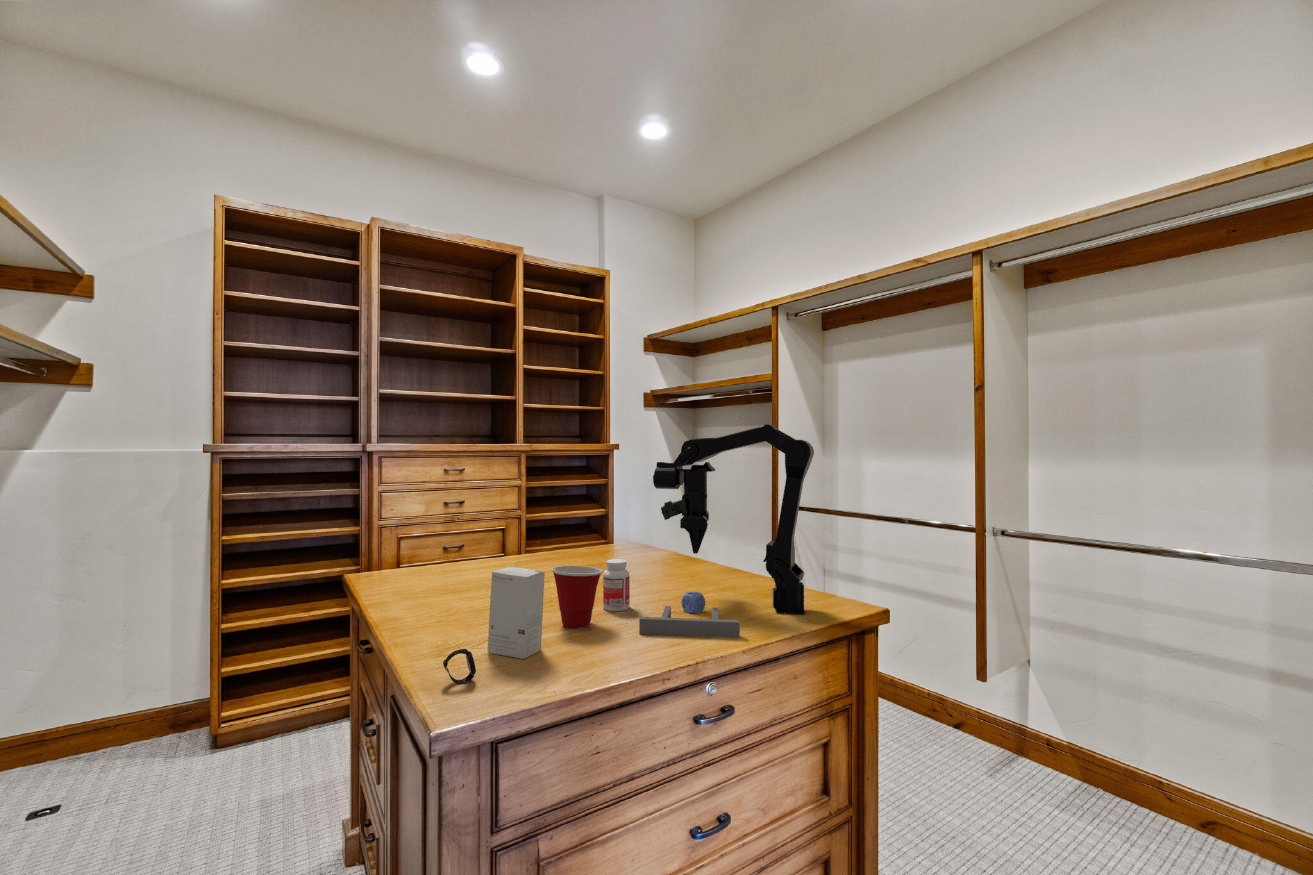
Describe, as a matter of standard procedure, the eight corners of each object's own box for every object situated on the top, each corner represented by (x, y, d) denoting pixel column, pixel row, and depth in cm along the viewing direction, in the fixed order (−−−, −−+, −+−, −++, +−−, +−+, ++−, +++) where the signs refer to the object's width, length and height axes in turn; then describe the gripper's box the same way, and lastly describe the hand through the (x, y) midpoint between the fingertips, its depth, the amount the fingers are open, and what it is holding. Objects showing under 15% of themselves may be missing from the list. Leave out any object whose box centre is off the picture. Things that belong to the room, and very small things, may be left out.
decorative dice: (693, 607, 133) (693, 590, 133) (705, 611, 130) (705, 593, 130) (681, 611, 130) (681, 593, 130) (693, 614, 127) (693, 597, 127)
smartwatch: (473, 686, 88) (473, 654, 88) (439, 687, 88) (440, 655, 88) (479, 676, 92) (480, 645, 93) (447, 677, 92) (447, 646, 92)
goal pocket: (738, 622, 121) (738, 608, 121) (739, 637, 111) (739, 622, 111) (645, 618, 124) (646, 605, 124) (639, 633, 114) (639, 618, 114)
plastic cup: (613, 624, 120) (613, 567, 120) (573, 636, 112) (573, 575, 112) (580, 613, 127) (580, 560, 128) (540, 624, 119) (541, 567, 120)
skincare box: (486, 653, 102) (487, 571, 103) (507, 643, 108) (507, 565, 108) (525, 660, 99) (526, 575, 100) (544, 649, 105) (545, 568, 105)
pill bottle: (619, 603, 136) (619, 557, 137) (634, 608, 132) (635, 561, 132) (597, 607, 132) (598, 560, 133) (612, 613, 128) (613, 564, 128)
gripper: (666, 487, 150) (666, 546, 149) (658, 492, 131) (658, 559, 131) (708, 487, 148) (708, 547, 148) (706, 492, 130) (706, 561, 129)
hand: (695, 553), depth 139 cm, fingers closed
